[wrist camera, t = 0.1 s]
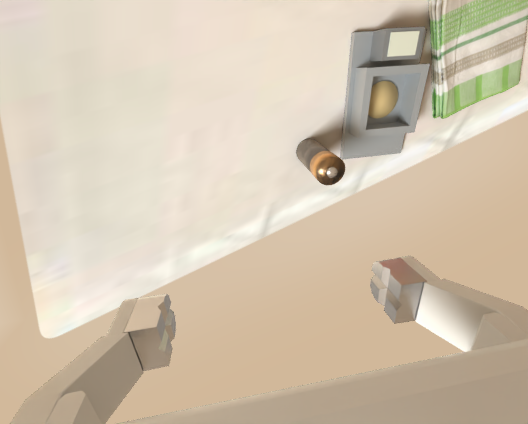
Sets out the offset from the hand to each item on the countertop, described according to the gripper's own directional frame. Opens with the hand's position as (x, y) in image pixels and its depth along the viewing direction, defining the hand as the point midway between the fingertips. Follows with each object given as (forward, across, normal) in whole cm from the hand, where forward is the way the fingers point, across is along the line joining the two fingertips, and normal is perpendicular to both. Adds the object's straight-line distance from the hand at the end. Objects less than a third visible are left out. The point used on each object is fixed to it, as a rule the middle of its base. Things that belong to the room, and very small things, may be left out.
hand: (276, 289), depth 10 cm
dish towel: (+39, -43, -14) cm, 59 cm away
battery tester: (+39, -26, -5) cm, 47 cm away
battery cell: (+39, -14, +3) cm, 42 cm away
